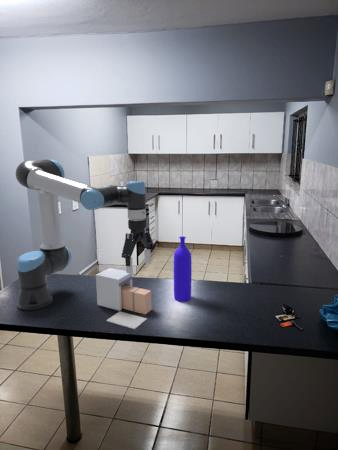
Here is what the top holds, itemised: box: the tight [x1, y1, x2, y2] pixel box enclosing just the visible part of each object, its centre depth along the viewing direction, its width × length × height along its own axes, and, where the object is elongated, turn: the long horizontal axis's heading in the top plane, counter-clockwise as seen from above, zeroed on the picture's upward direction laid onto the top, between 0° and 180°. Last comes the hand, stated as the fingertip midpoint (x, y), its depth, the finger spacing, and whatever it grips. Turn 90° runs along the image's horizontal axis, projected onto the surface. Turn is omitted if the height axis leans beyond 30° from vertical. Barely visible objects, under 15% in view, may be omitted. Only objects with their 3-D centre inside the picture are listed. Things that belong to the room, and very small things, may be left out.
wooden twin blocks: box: [121, 285, 153, 315], centre depth 150 cm, size 16×5×9 cm, turn 61°
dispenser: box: [95, 267, 134, 312], centre depth 154 cm, size 13×10×14 cm
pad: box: [106, 310, 148, 330], centre depth 140 cm, size 14×9×1 cm, turn 61°
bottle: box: [173, 236, 192, 303], centre depth 156 cm, size 8×8×30 cm
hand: (139, 268), depth 144 cm, fingers open, 13 cm apart
